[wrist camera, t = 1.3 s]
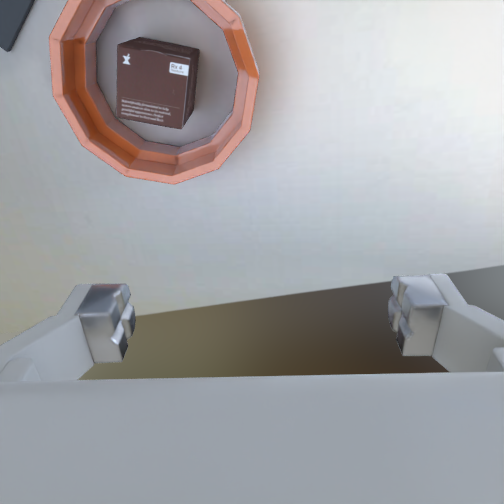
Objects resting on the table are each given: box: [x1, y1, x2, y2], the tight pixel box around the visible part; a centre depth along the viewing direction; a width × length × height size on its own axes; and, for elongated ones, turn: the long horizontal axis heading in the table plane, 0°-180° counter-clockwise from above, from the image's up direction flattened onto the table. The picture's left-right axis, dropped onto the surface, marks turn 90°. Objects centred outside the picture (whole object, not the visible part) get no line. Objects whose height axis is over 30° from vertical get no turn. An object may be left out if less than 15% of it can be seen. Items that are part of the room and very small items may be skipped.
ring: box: [49, 0, 259, 184], centre depth 40 cm, size 18×18×6 cm
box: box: [116, 37, 199, 129], centre depth 39 cm, size 6×6×7 cm
